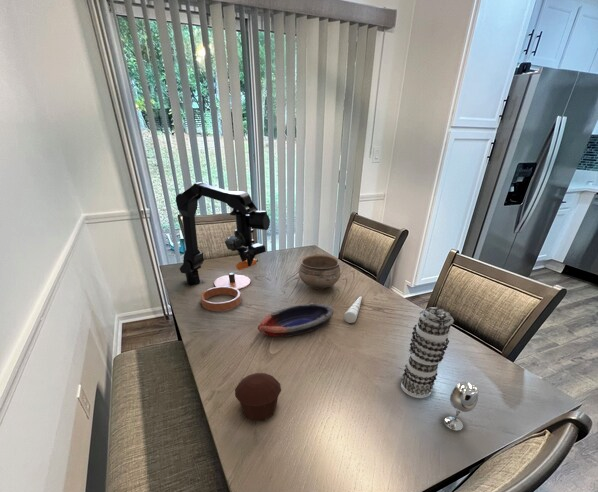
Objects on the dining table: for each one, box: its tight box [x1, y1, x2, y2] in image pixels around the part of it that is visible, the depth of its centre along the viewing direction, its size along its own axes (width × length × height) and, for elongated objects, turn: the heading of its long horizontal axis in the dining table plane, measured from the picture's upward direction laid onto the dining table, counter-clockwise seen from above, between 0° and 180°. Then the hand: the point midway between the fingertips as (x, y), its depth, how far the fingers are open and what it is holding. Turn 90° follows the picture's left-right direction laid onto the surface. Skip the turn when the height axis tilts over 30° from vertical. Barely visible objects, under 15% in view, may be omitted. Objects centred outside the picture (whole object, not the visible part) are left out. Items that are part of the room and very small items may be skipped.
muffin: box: [234, 372, 282, 422], centre depth 83 cm, size 12×11×10 cm
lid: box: [213, 272, 252, 291], centre depth 149 cm, size 17×17×5 cm
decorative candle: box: [400, 306, 455, 399], centre depth 86 cm, size 9×9×25 cm
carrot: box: [235, 258, 259, 271], centre depth 135 cm, size 11×3×3 cm, turn 137°
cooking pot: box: [298, 253, 342, 290], centre depth 146 cm, size 25×19×12 cm
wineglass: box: [443, 381, 479, 431], centre depth 78 cm, size 6×6×12 cm
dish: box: [257, 303, 334, 337], centre depth 119 cm, size 16×31×5 cm, turn 118°
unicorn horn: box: [343, 295, 363, 324], centre depth 130 cm, size 5×24×5 cm, turn 156°
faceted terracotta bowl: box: [200, 286, 242, 312], centre depth 133 cm, size 16×16×4 cm
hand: (247, 265), depth 135 cm, fingers closed on carrot, 3 cm apart
